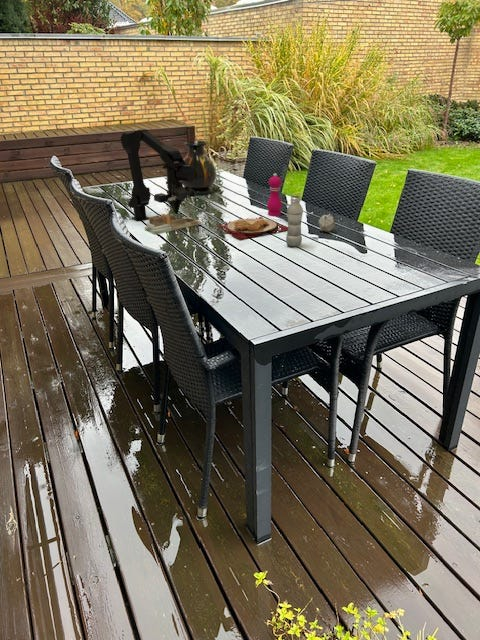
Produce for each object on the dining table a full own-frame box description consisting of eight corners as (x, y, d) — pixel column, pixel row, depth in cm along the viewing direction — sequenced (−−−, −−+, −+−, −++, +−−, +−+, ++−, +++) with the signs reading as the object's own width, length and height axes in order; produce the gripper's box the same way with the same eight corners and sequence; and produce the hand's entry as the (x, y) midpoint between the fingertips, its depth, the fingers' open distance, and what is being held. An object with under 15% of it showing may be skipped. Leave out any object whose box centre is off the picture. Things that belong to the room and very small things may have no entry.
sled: (147, 226, 219) (146, 217, 217) (164, 222, 224) (163, 213, 222) (153, 229, 215) (152, 220, 213) (171, 225, 220) (170, 216, 218)
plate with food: (290, 232, 218) (290, 224, 216) (239, 241, 206) (239, 232, 204) (260, 220, 237) (261, 212, 235) (212, 227, 225) (212, 219, 223)
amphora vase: (215, 196, 276) (213, 144, 263) (177, 197, 276) (174, 145, 263) (217, 188, 295) (215, 139, 282) (182, 188, 295) (179, 139, 282)
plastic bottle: (303, 243, 201) (305, 195, 192) (299, 249, 195) (301, 199, 186) (288, 242, 203) (289, 194, 194) (283, 247, 197) (285, 198, 188)
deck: (145, 230, 221) (144, 221, 219) (189, 220, 234) (188, 211, 233) (155, 234, 215) (154, 225, 213) (199, 224, 228) (199, 215, 226)
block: (149, 224, 219) (148, 217, 218) (158, 222, 222) (157, 215, 220) (154, 227, 216) (154, 219, 214) (163, 225, 219) (162, 217, 217)
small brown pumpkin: (329, 239, 218) (343, 221, 215) (324, 237, 210) (339, 219, 207) (314, 226, 220) (328, 209, 217) (309, 225, 212) (324, 206, 209)
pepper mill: (280, 216, 237) (281, 174, 228) (266, 216, 239) (266, 174, 230) (282, 212, 244) (283, 172, 234) (268, 212, 245) (268, 171, 236)
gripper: (164, 185, 205) (168, 221, 212) (201, 179, 215) (203, 214, 223) (151, 181, 213) (155, 216, 220) (187, 175, 223) (189, 209, 230)
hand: (176, 214), depth 223 cm, fingers closed
